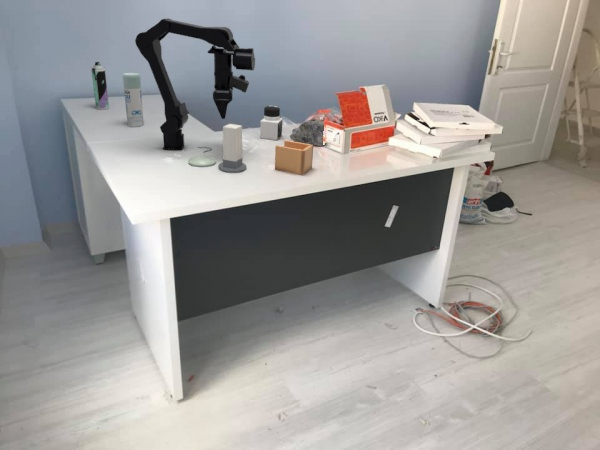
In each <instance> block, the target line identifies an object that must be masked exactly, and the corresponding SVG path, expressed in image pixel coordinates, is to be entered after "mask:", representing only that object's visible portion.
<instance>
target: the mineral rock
mask: <svg viewBox="0 0 600 450" xmlns="http://www.w3.org/2000/svg"><path fill="white" fill-rule="evenodd" d="M324 122H325V121H321V120H319V119H318V118H314V117H312V118H311V119H309V120H307V121H304V122H303V123H301V124H300V125H299V126H298V127H295V128H293V129H292V132H291V133H292V134H290V135H289V138H290V140H292V141H294V142H300V143H305V144H311V145H315V146H319V147H324V146H323V131H324Z"/></svg>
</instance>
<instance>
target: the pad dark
mask: <svg viewBox="0 0 600 450" xmlns="http://www.w3.org/2000/svg"><path fill="white" fill-rule="evenodd" d="M217 168H218V170H219V171H221V172H223V173H231V174H232V173H233V174H234V173H235V174H236V173H241V172H244V171H246V170H247V164H246V163H244V162H242V165H241V166H240V167H238V168H237V169H233V168H228V167H223V161H222V162H220V163H219V164H218V167H217Z"/></svg>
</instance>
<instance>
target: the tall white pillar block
mask: <svg viewBox="0 0 600 450" xmlns="http://www.w3.org/2000/svg"><path fill="white" fill-rule="evenodd" d="M222 145H223V146H222V152H223V154H222V155H223V156H222V157H223V158H222V162H223V167H228V168H233V169H237V168H238V167H240V166H241V165H242V163H243V125H241V124H240V125H239V124H235V123H227V124H226V125H224V126H222Z"/></svg>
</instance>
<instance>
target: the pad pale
mask: <svg viewBox="0 0 600 450" xmlns="http://www.w3.org/2000/svg"><path fill="white" fill-rule="evenodd" d="M187 162H188V165H190V166H193V167H197V168H208V167H212V166H214V165H216V163H217V160H216V158H215V157H212V156H210V155H209V156H207V155H197V156H196V155H195V156H192V157H189V158H188V160H187Z"/></svg>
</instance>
